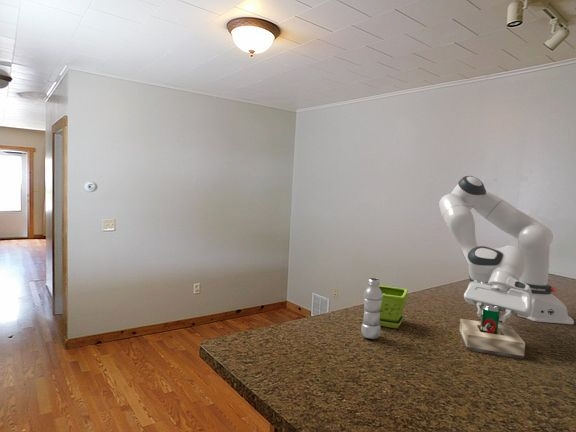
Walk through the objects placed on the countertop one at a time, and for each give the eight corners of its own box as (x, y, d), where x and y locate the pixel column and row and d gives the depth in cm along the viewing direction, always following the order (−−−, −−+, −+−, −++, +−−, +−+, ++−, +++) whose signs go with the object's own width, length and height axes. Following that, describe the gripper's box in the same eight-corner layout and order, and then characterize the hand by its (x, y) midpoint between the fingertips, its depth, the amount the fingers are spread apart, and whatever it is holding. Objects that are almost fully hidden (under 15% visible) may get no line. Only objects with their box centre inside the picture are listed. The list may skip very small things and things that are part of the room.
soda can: (499, 345, 118) (504, 309, 118) (485, 344, 117) (489, 308, 117) (489, 338, 123) (493, 304, 123) (475, 338, 122) (479, 303, 122)
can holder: (509, 339, 126) (510, 325, 126) (523, 359, 111) (525, 343, 110) (459, 332, 131) (460, 318, 130) (466, 349, 116) (467, 334, 115)
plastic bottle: (381, 335, 124) (384, 278, 123) (379, 343, 118) (383, 282, 116) (362, 332, 126) (365, 276, 125) (359, 339, 120) (363, 280, 118)
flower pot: (406, 320, 140) (408, 288, 139) (401, 332, 128) (404, 297, 127) (370, 314, 146) (372, 283, 145) (362, 325, 133) (364, 291, 133)
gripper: (469, 274, 132) (456, 305, 126) (535, 287, 117) (523, 322, 111) (472, 284, 135) (460, 315, 129) (537, 298, 120) (526, 333, 114)
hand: (490, 318), depth 120 cm, fingers open, 5 cm apart
